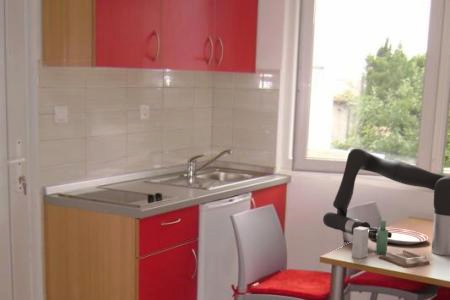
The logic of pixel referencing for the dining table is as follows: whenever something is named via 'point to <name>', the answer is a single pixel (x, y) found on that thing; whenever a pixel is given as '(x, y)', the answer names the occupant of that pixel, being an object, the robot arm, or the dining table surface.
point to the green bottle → (382, 239)
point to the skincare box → (360, 242)
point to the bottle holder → (405, 259)
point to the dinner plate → (405, 236)
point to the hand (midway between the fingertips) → (383, 236)
